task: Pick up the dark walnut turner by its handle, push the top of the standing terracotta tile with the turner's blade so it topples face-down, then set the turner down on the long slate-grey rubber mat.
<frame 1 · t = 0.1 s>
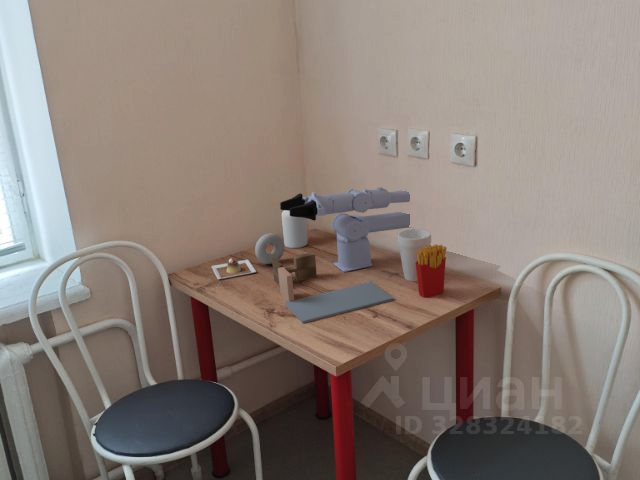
hand: (285, 209, 185), 22 cm above the table, tool horizontal, fingers open, 7 cm apart
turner: (306, 277, 192), on the table
donut: (271, 264, 206), on the table
tile: (287, 298, 179), on the table
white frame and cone: (233, 272, 203), on the table
foam cup: (415, 277, 187), on the table
french fries: (432, 293, 176), on the table
mat: (338, 302, 174), on the table
pill bottle: (296, 245, 221), on the table
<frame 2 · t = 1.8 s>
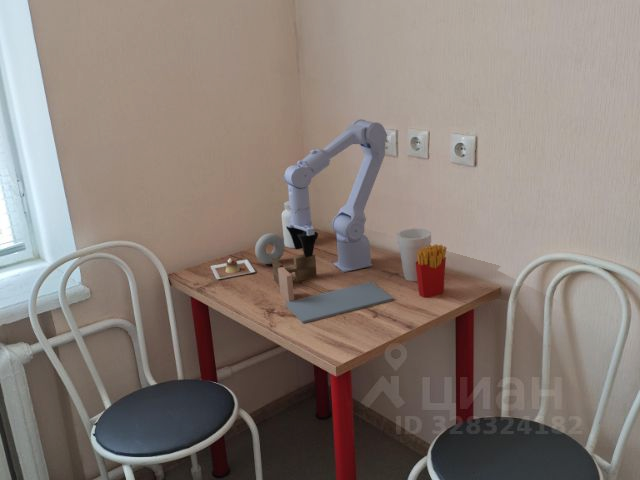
hand: (303, 252, 190), 8 cm above the table, tool pointing down, fingers open, 7 cm apart
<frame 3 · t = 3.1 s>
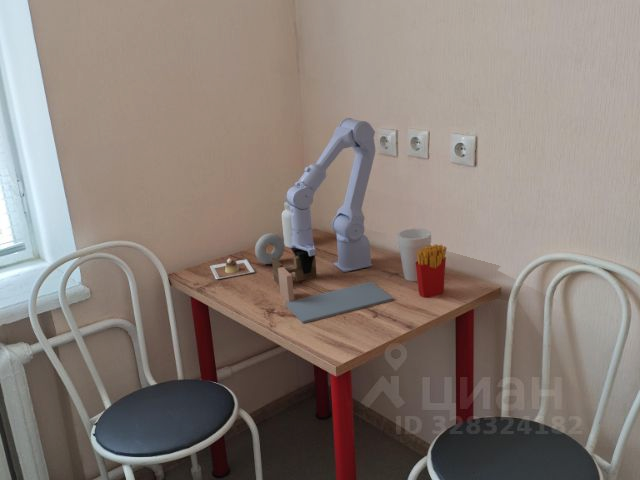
hand: (305, 271, 192), 2 cm above the table, tool pointing down, fingers closed on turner
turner: (306, 277, 192), on the table, touching gripper
everything else where it was.
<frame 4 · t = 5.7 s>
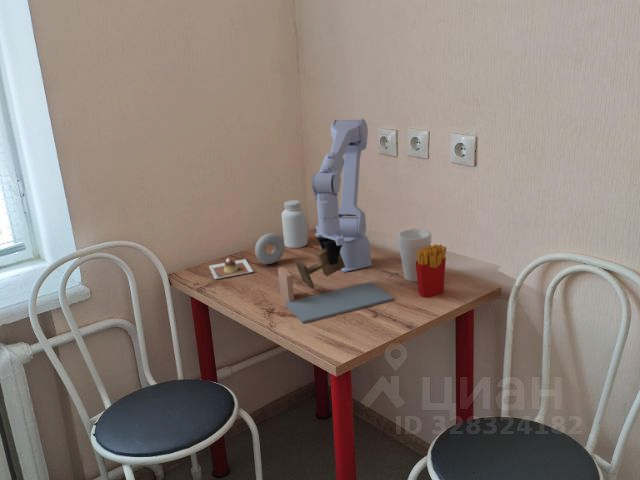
hand: (331, 262, 182), 7 cm above the table, tool pointing down, fingers closed on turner
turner: (334, 270, 183), point 5 cm above the table, tilted 15°, touching gripper
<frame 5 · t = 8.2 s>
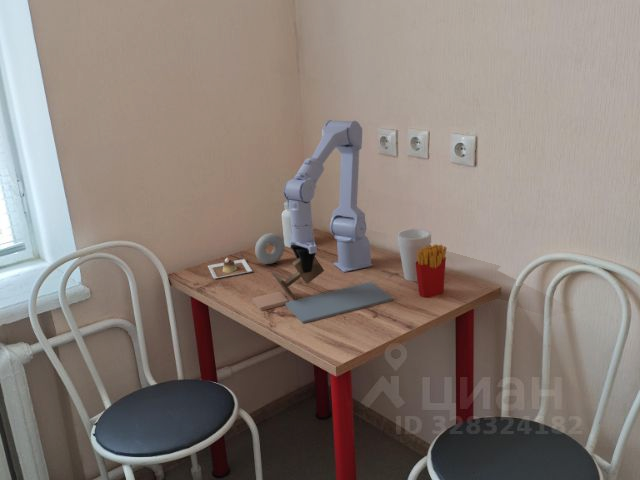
hand: (305, 270, 179), 7 cm above the table, tool pointing down, fingers closed on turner
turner: (314, 276, 181), point 5 cm above the table, tilted 27°, touching gripper, mat
tile: (283, 298, 179), on the table, tilted 90°
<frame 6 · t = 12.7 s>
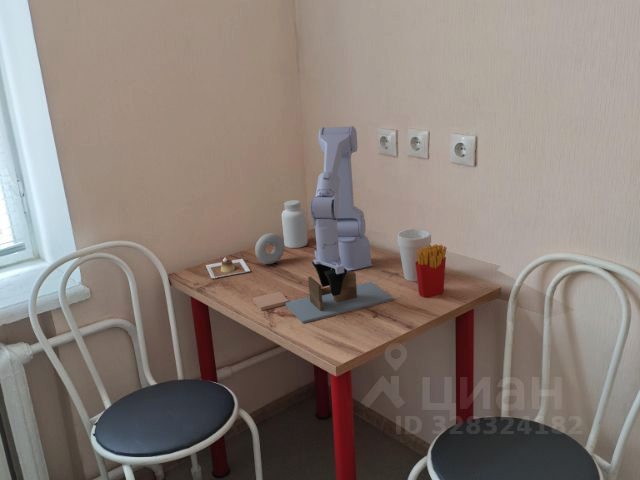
hand: (330, 290, 172), 4 cm above the table, tool pointing down, fingers open, 6 cm apart
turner: (345, 298, 175), point 1 cm above the table, touching mat
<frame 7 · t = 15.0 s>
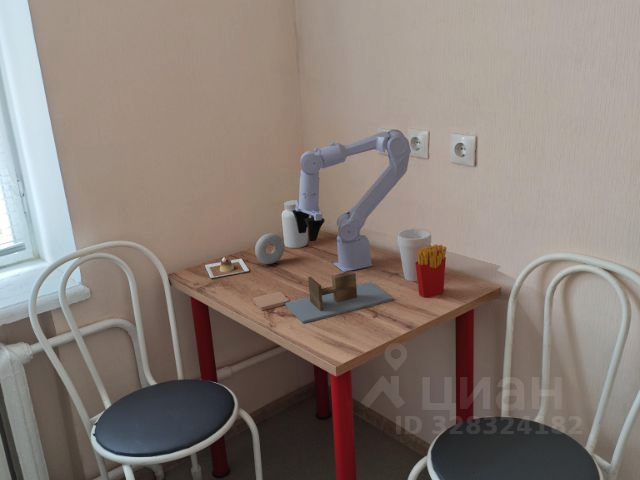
hand: (307, 236, 195), 10 cm above the table, tool pointing down, fingers open, 7 cm apart
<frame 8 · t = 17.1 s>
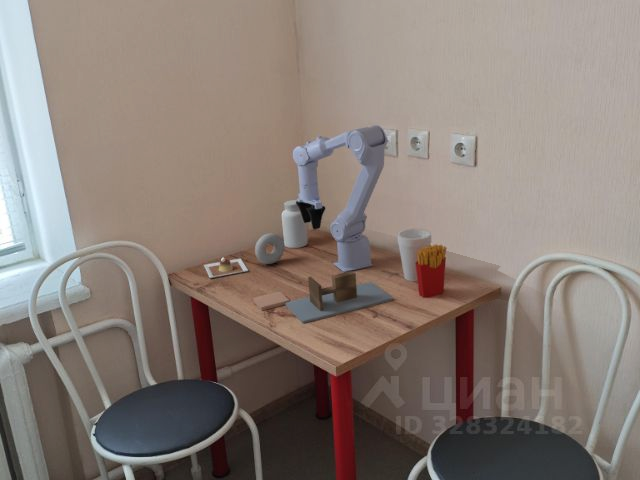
hand: (311, 225, 205), 10 cm above the table, tool pointing down, fingers open, 7 cm apart
at the end: tile tilted 90°; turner inside the target area on the mat (1.5 cm from its centre), point 0.6 cm above the mat's base; the gripper is holding nothing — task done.
